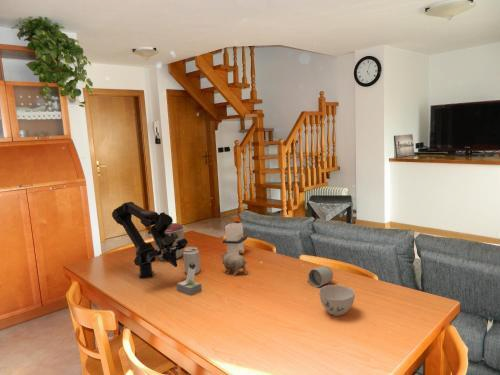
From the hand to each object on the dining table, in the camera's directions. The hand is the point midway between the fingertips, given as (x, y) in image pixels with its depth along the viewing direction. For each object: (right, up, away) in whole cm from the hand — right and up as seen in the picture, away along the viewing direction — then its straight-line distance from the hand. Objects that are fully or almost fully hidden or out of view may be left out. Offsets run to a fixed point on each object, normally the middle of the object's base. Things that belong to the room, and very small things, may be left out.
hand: (176, 266), depth 170 cm
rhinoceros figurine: (+24, -6, +16) cm, 29 cm away
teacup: (+64, -10, -29) cm, 71 cm away
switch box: (+7, -10, -4) cm, 12 cm away
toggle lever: (+6, -6, -4) cm, 10 cm away
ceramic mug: (+62, -7, -4) cm, 62 cm away
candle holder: (+25, -2, +43) cm, 50 cm away
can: (+4, -7, +18) cm, 20 cm away
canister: (-11, -4, +43) cm, 44 cm away
